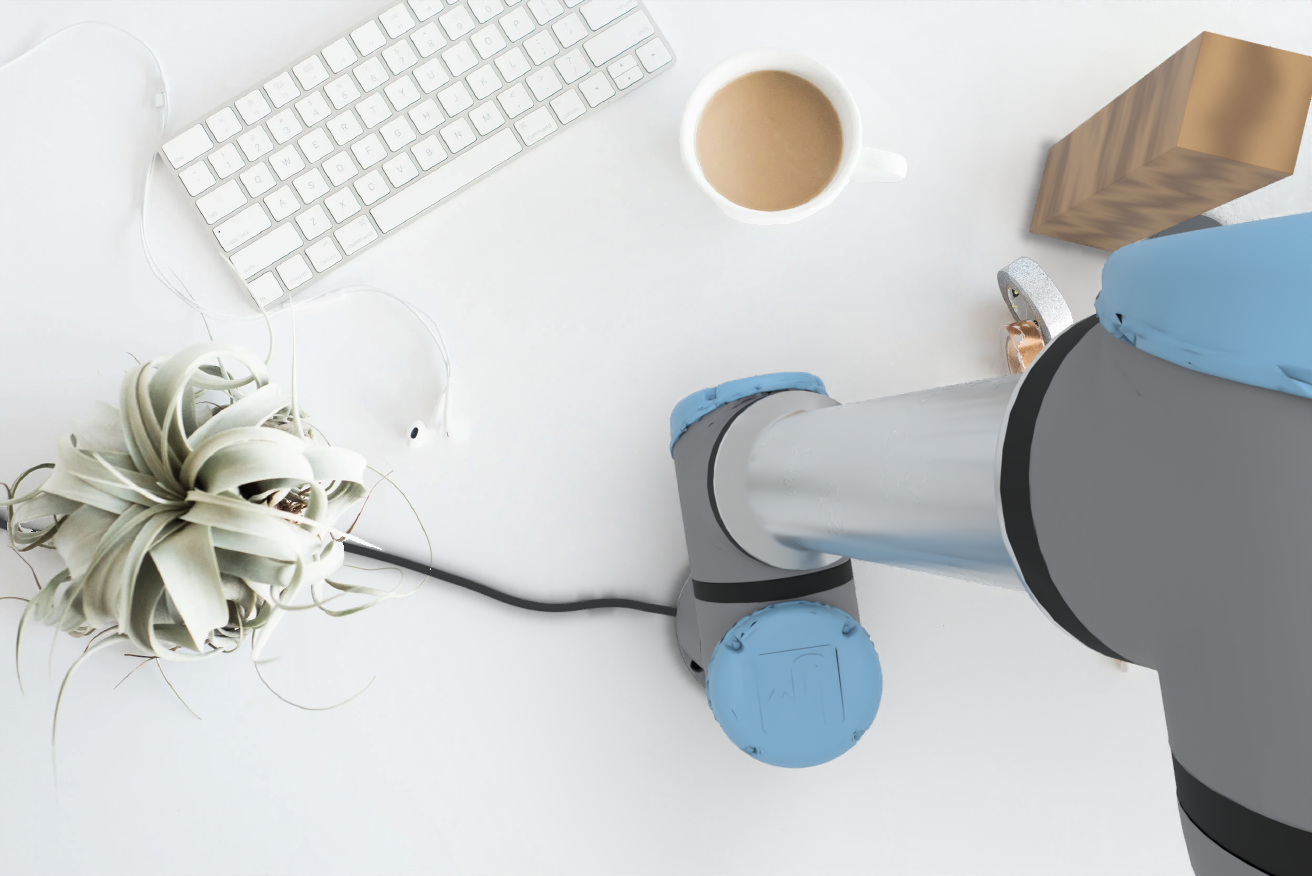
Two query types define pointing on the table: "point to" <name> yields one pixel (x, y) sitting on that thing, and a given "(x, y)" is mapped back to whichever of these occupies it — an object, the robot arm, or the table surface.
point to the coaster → (1189, 226)
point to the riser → (1177, 143)
